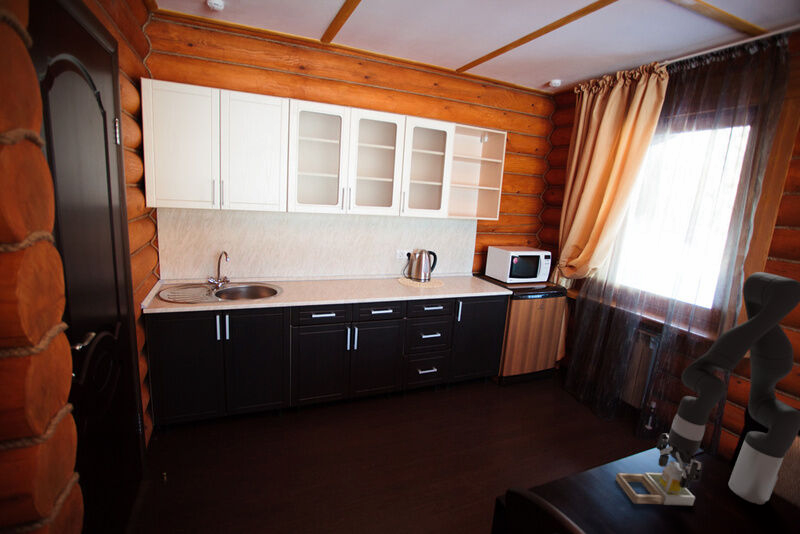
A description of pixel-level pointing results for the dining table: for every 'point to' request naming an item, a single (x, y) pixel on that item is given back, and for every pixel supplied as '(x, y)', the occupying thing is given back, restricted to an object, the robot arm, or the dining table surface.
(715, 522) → the dining table surface
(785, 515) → the dining table surface
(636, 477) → the wooden frame
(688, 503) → the tray
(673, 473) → the supplement bottle
